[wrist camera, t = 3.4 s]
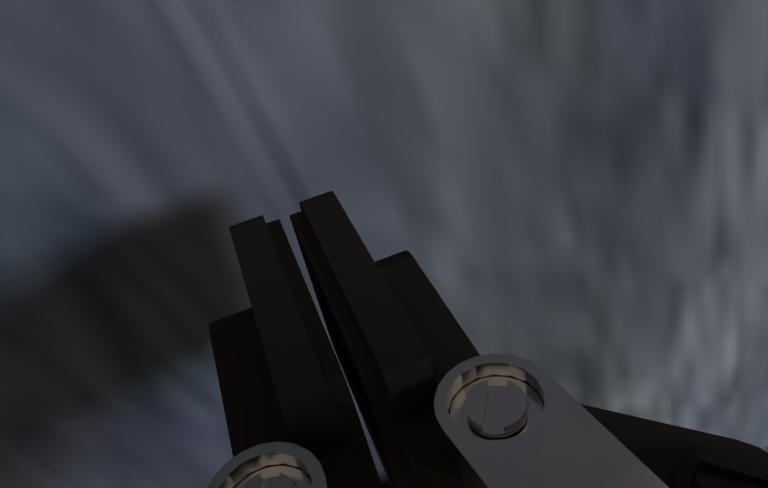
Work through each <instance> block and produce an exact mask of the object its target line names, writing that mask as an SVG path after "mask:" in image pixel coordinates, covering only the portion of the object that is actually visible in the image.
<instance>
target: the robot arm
mask: <svg viewBox="0 0 768 488" xmlns="http://www.w3.org/2000/svg"><path fill="white" fill-rule="evenodd" d="M299 203H300V208H301V212H298V213H295V214H292V215H290V219H291V222H292V225H293V228H294V231H295V234H296V237H297V240H298V243H299V246H300V249H301V252H302V255H303V258H304V261H305V264H306V267H307V270H308V273H309V276H310V279H311V282H312V285H313V288H314V291H315V294H316V297H317V300H318V303H319V306H320V309H321V312H322V315H323V318H324V321H325V324H326V327H327V330H328V333H329V335H330V338H331V341H332V344H333V347H334V349H335V352H336V355H337V357H338V359H339V362H340V364H341V367H342V369H343V371H344V374H345V376H346V379H347V381H348V383H349V386H350V388H351V391H352V393H353V395H354V398H355V400H356V403H357V405H358V407H359V410H360V412H361V415H362V417H363V419H364V422H365V424H366V427H367V429H368V432H369V434H370V436H371V439H372V441H373V444H374V446H375V448H376V451H377V453H378V456H379V458H380V460H381V463H382V465H383V468H384V470H385V472H386V475H387V477H388V480H389V482H390V484H391V487H392V488H768V447H763V448H759V447H756V446H753V445H750V444H747V443H744V442H742V441H739V440H735V439H731V438H726V437H722V436H718V435H713V434H709V433H704V432H700V431H696V430H691V429H687V428H683V427H678V426H674V425H669V424H665V423H661V422H656V421H652V420H647V419H643V418H639V417H634V416H630V415H625V414H621V413H617V412H612V411H608V410H604V409H599V408H595V407H590V406H586V405H582V404H579V403H578V402H577V401H576V400H575V399H574V398H573V397H572V396H571V395H570V394H569V393H568V392H567V391H566V390H565V389H564V388H562V387H561V386H560V385H559V384H558V383H557V382H556V381H555V380H554V379H553V378H552V377H551V376H550V375H549V374H548V373H546V372H545V371H544V370H543V369H541V368H540V367H539V366H537V365H536V364H534V363H533V362H531V361H530V360H527V359H524V358H521V357H518V356H515V355H509V354H498V353H494V354H487V355H479V353H478V352H477V350H476V349H475V347H474V346H473V344H472V343H471V341H470V340H469V338H468V337H467V336H466V334H465V333H464V331H463V330H462V328H461V327H460V325H459V324H458V322H457V321H456V319H455V318H454V316H453V315H452V313H451V312H450V311H449V309H448V308H447V306H446V305H445V303H444V302H443V300H442V299H441V297H440V296H439V294H438V293H437V291H436V290H435V288H434V287H433V285H432V284H431V283H430V281H429V280H428V278H427V277H426V275H425V274H424V272H423V271H422V269H421V268H420V266H419V265H418V263H417V262H416V260H415V259H414V258H413V256H412V255H411V254H410V253H409V252H408V251H406V250H405V251H403V252H400V253H397V254H395V255H392V256H389V257H386V258H384V259H381V260H378V261H376V262H374V260H373V259H372V257H371V255H370V254H369V252H368V250H367V249H366V247H365V245H364V243H363V242H362V240H361V238H360V237H359V235H358V233H357V231H356V230H355V228H354V226H353V225H352V223H351V221H350V220H349V218H348V216H347V214H346V213H345V211H344V209H343V208H342V206H341V204H340V202H339V201H338V199H337V197H336V196H335V194H334V193H333V191H330V192H327V193H324V194H321V195H319V196H316V197H313V198H310V199H307V200H304V201H301V202H299ZM229 228H230V232H231V236H232V239H233V243H234V246H235V250H236V253H237V257H238V260H239V264H240V267H241V271H242V274H243V278H244V281H245V285H246V288H247V292H248V295H249V299H250V302H251V306H252V308H249V309H247V310H244V311H241V312H239V313H236V314H233V315H231V316H228V317H225V318H223V319H220V320H217V321H214V322H212V323H210V324H209V331H210V337H211V343H212V348H213V353H214V358H215V364H216V369H217V374H218V379H219V385H220V390H221V395H222V400H223V406H224V411H225V416H226V421H227V427H228V432H229V437H230V442H231V448H232V453H233V458H232V459H231V460H230V461H228V462H227V463H225V464H224V466H223V467H222V468H221V469H220V470H219V471H218V472H217V473H216V475H215V476H214V477H213V478H212V479H211V481H210V483H209V485H208V487H207V488H382V485H381V482H380V479H379V476H378V473H377V470H376V467H375V464H374V461H373V458H372V455H371V452H370V449H369V446H368V443H367V440H366V437H365V434H364V431H363V428H362V425H361V422H360V419H359V416H358V413H357V410H356V407H355V404H354V401H353V399H352V396H351V393H350V390H349V388H348V385H347V382H346V380H345V377H344V375H343V372H342V370H341V367H340V365H339V362H338V360H337V358H336V355H335V353H334V350H333V348H332V346H331V343H330V341H329V338H328V336H327V333H326V331H325V329H324V326H323V324H322V321H321V319H320V317H319V314H318V312H317V309H316V307H315V305H314V302H313V300H312V297H311V295H310V292H309V290H308V288H307V285H306V283H305V280H304V278H303V276H302V273H301V271H300V268H299V266H298V263H297V261H296V259H295V256H294V254H293V251H292V249H291V247H290V244H289V242H288V239H287V237H286V234H285V232H284V230H283V227H282V225H281V222H280V220H279V219H278V220H275V221H272V222H269V223H267V224H266V223H265V220H264V217H263V215H261V216H259V217H256V218H253V219H250V220H247V221H244V222H241V223H239V224H236V225H233V226H230V227H229Z"/></svg>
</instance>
